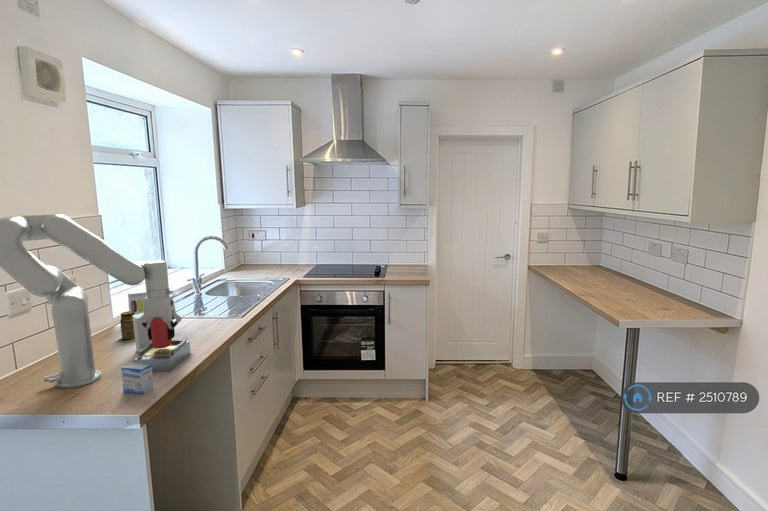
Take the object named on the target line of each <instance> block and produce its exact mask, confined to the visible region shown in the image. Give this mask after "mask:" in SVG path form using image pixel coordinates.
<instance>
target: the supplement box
mask: <svg viewBox="0 0 768 511" xmlns="http://www.w3.org/2000/svg"><path fill="white" fill-rule="evenodd" d="M145 297H147V296H146V288H140V289H131V290H127V298H128V299H127V300H128V311H133V312H134V313H135V315H136V314H141V313H144V301H145Z"/></svg>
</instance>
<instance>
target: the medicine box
mask: <svg viewBox="0 0 768 511" xmlns="http://www.w3.org/2000/svg"><path fill="white" fill-rule="evenodd" d="M120 371H121V380H122V381H121V382H122V391H123V394H124V393H125V394H138V395H145V394H147V393H148V392H150V391H152V390H153V389H154V377H153V372H152V365H148V364H135V363H134V362H133V363H132V362H130V363H128V364H126V365H124V366H122V367H121V368H120Z"/></svg>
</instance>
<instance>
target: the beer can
mask: <svg viewBox="0 0 768 511" xmlns="http://www.w3.org/2000/svg"><path fill="white" fill-rule="evenodd" d="M150 325H151V336H152V346H153V347H154V348H157V349H160V348H166V347H168V346H170V345H171V344H172V340H173V338H172V339H171V340H169V339H168V330H169V327H168V326H167V323H165V322H164V321H163V320H162V319H161V318H153V319H152V321H151V323H150Z"/></svg>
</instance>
